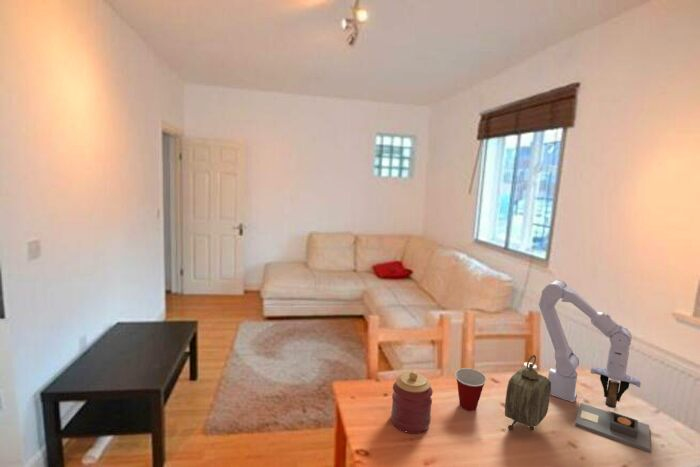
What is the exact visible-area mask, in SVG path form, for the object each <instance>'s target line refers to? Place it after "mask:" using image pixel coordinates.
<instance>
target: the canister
mask: <svg viewBox="0 0 700 467" xmlns="http://www.w3.org/2000/svg"><path fill="white" fill-rule="evenodd" d="M392 390H393V393H392V395H391V398H392V404H391V405H392V406H391V413H390V417H391V423H392V424H393V423H394V424H393V425H394V427H396V428H397V427H398V428H399V429H398V428H397V429H398V430H400V429H401V430H400V431H402V430H403V431H402V432H404V431H407V432H413V433H412V434H419V433H418V432H421V433H423V432H422V431H424V432H426V431H427V430H428V429H429V427H430V424H431V422H432V421H431V419H432V417H431V411H432V403H433V399H432V395H433V392H434V391H433V388H432V386H431V382H430V380H429V379H428V378H427V377H425V376H424V375H422V374H420V373H417V372H416V371H408V372H404V373H402V374H399V375H398V376H396V377H395V382H394V383H393V384H392ZM427 428H428V429H427ZM426 429H427V430H426ZM407 432H406V433H407Z"/></svg>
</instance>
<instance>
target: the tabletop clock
mask: <svg viewBox="0 0 700 467" xmlns="http://www.w3.org/2000/svg"><path fill="white" fill-rule="evenodd" d="M532 359H534V361H533V362H532V363H533V364H529V363H531V360H532ZM536 362H537V356H536V355H535V354H532V355H530V356H529V358H528V360H527V368H525V369H523V368H524V367H523V368H520V369H519V370H517V371H516V372H515V373H514V374H513V375H512V376H511V377H510V378H509V380H508V383H507V387H506V392H505V393H506V394H505V403H504V416H505V417H506V418H508V419H511V420H513V422H512V423H511V424H508V426H507V429H508V430H509V431H513V430H514V426H515V425H516V424H517V423H519V424H521V425H523V426H525V427H527V428H528V429H529V431H535V427H537V426H538V425H539V424H541V422H542V421H543V420H544V419H545V418H546V416H547V414H548V410H549V405H550V399H551V395H550V391H551V382H550V381H549V379H548V377H547V376H545V375H542V374H540V373H538V371H537V370H534V369H532V368H533V366H534V364H535V365H536ZM528 364H529V367H528Z"/></svg>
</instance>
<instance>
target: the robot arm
mask: <svg viewBox="0 0 700 467" xmlns="http://www.w3.org/2000/svg"><path fill="white" fill-rule="evenodd" d="M559 300H561V303H570V304H572V305H573V306H574V307H575V308H577V309H579V311H581V312H582V313H584V314H585V315H586V316H587V317H589V318H590V322H591V325H593V327H595V328H596V329H597V330H598V331H600V332H601V333H602V334H603V335H604V336H605V337H607V338H608V339H609V342H610V347H609V349H608V355H607V362H606V368H602V367H601V368H600V367H598V366H597V367H596V366H591V369H590V374H592V375H593V374H595V375H599V376H600V377H599V380H600V382H601V386H602V389H603V396H604V398H606V397H607V389H608V383H609V380H615V381H617V382H619V383H620V385H619V391H618V397H617V402H620V400H621V397H622V396H623V394H624V393H625V392H626V391H627V390H628V389H629V387H630V385H632V386H636V387H638V388H641V385H642V380H641V379H639V378H636V377H633V376H631V375H628V374H626V373H627V369H628V367H627V366H628V361H629V356H630V355H629V354H630V346H631V342H632V338H633V337H632V333H631V332H630V330H629V329H628V328H626V327H624V326H622V324H618V323H617V322H616V321H615V320H614V319H612V318H611V317H612V315H611V314H609V313H607V314H606V313H605V312H603V311H597V310H596V309H595V308H594V307H593V306H592V305H591V304H590V303H589V302H588V301H587V300H586V299H584V297H582V296H581V295H580V294H579V293H578V292H577V291H576V290H574V289H573V287H572V286H570V285H569V284H567V282H565V281H563V280H561V279H555V280H553V281H551V282H550V283H549V284H547V285H546V286H545V287H544V288H543V289H542V290H541V296H540V299H539V302H538V307H539V309H540V312H541V316H542V317H543V321H544V324H545V326H546V329H547V332H548V334H549V337H550V340H551V343H552V345H553V349H554V359H555V368H551V367H550V368H549V372H548V377H547V378H548V379H549V381H550V382H551V391H550V396H552V397H556V398H559V399H562V400H565V401H567V402H571V403H575V402H576V397H577V391H576V387H577V382H578V381H577V380H578V373H577V370H576V369H577V368H578V367H579V365H580V360H579V358H578V357H577V355H576V354H575V353H574V351H573V348H571V347H570V345H569V342H568V340H567V338H566V335H565V334H566V333H565V331H564V329H563V327H562V324H561V320H560V318H559V315H558V312H557V309H556V307H555V306H556V304H557V303H558V301H559Z"/></svg>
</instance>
